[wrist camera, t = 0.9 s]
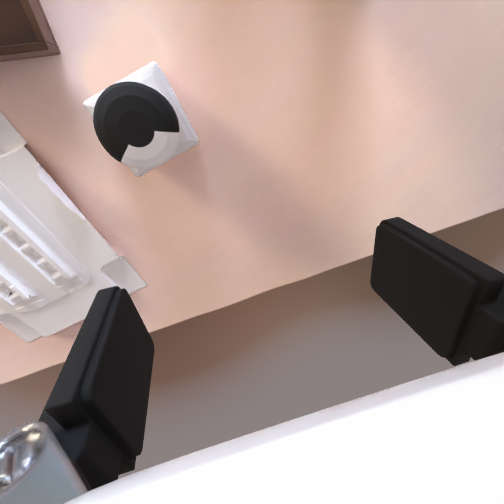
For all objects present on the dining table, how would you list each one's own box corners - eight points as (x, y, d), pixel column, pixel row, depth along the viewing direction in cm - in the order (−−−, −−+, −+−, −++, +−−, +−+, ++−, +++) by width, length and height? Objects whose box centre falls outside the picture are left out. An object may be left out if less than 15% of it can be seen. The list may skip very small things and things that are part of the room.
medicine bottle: (103, 102, 28) (55, 103, 18) (161, 68, 27) (147, 49, 17) (145, 164, 32) (127, 194, 21) (197, 135, 31) (203, 151, 21)
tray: (28, 343, 40) (14, 363, 37) (-200, 173, 26) (-255, 182, 23) (148, 284, 40) (144, 299, 36) (-19, 80, 26) (-49, 76, 22)
